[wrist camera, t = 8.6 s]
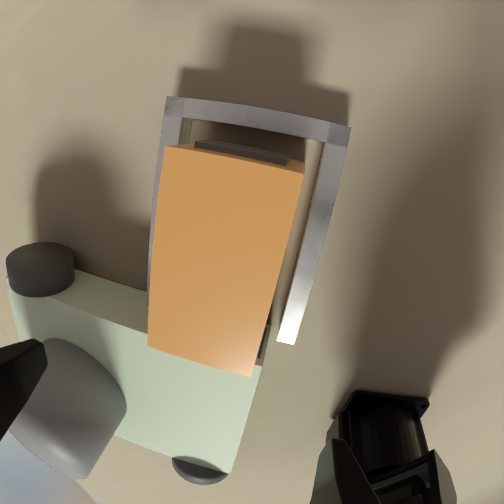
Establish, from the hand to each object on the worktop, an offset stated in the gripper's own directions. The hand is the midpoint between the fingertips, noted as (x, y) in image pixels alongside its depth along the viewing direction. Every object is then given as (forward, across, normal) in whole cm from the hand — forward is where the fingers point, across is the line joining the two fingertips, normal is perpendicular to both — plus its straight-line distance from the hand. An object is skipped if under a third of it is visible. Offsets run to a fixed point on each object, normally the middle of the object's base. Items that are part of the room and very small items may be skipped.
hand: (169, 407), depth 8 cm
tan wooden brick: (+11, +1, -2) cm, 11 cm away
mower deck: (+11, +7, +10) cm, 16 cm away
